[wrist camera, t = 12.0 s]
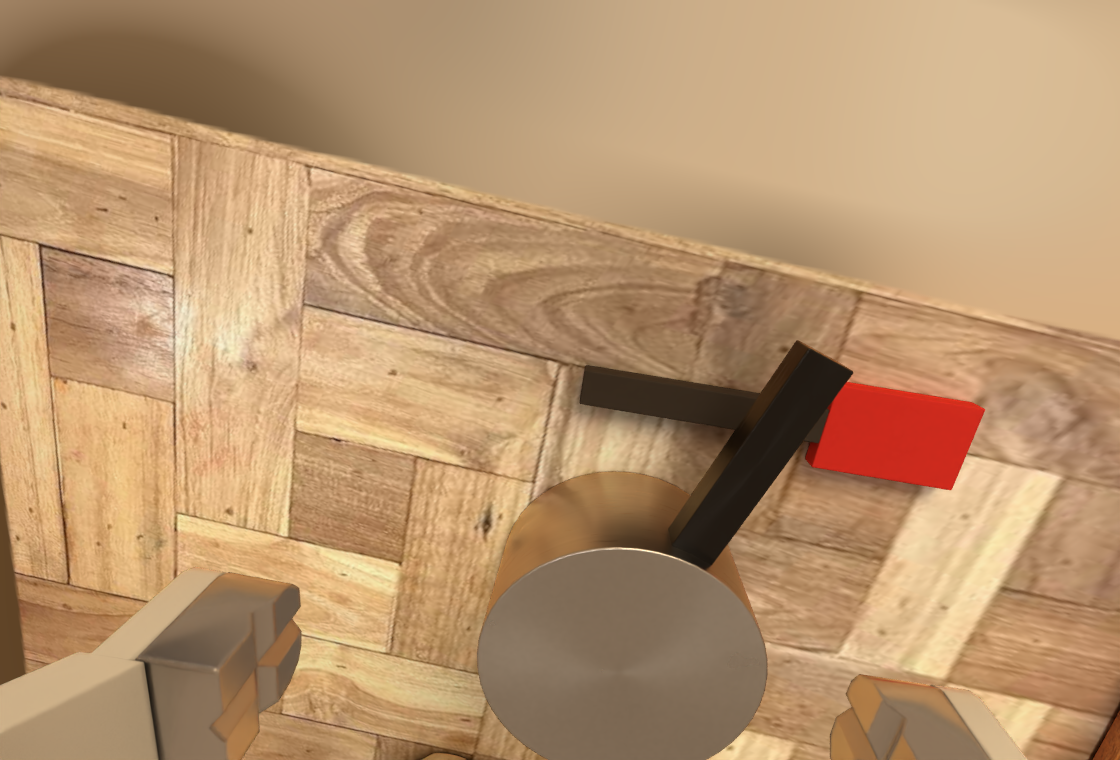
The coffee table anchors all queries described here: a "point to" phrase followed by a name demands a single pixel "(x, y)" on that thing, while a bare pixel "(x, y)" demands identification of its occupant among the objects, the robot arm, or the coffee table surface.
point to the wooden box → (1110, 743)
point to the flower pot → (443, 757)
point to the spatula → (819, 423)
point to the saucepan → (643, 597)
